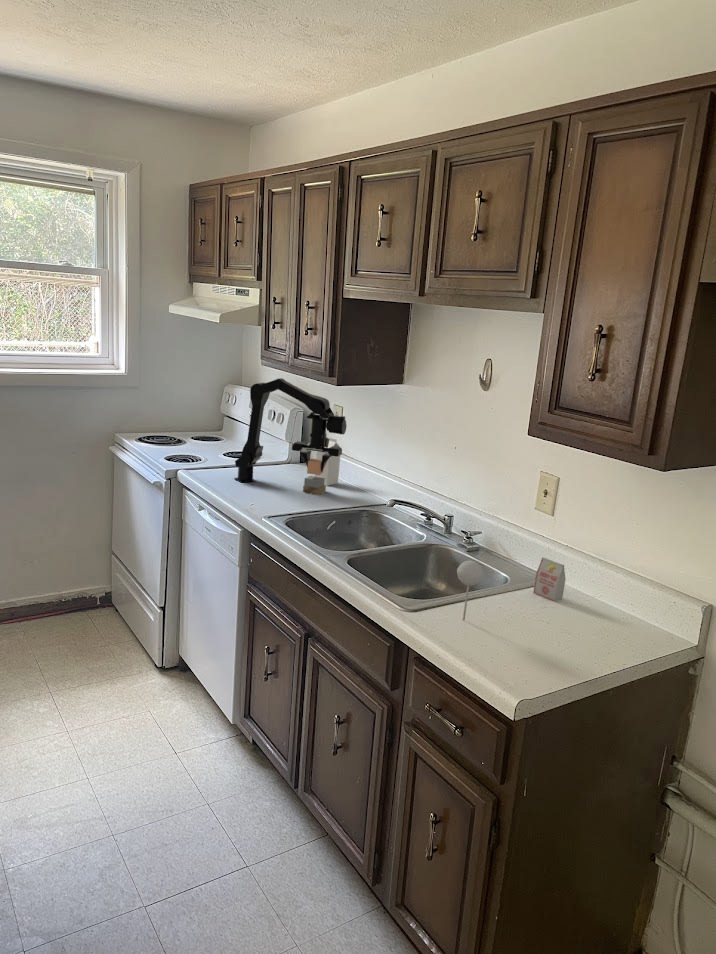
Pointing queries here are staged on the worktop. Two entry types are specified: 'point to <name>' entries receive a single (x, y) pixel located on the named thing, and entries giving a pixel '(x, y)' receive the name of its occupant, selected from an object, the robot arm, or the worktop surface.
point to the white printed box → (550, 580)
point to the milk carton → (330, 465)
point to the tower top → (314, 481)
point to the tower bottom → (314, 490)
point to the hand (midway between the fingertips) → (315, 470)
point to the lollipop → (469, 576)
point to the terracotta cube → (314, 467)
